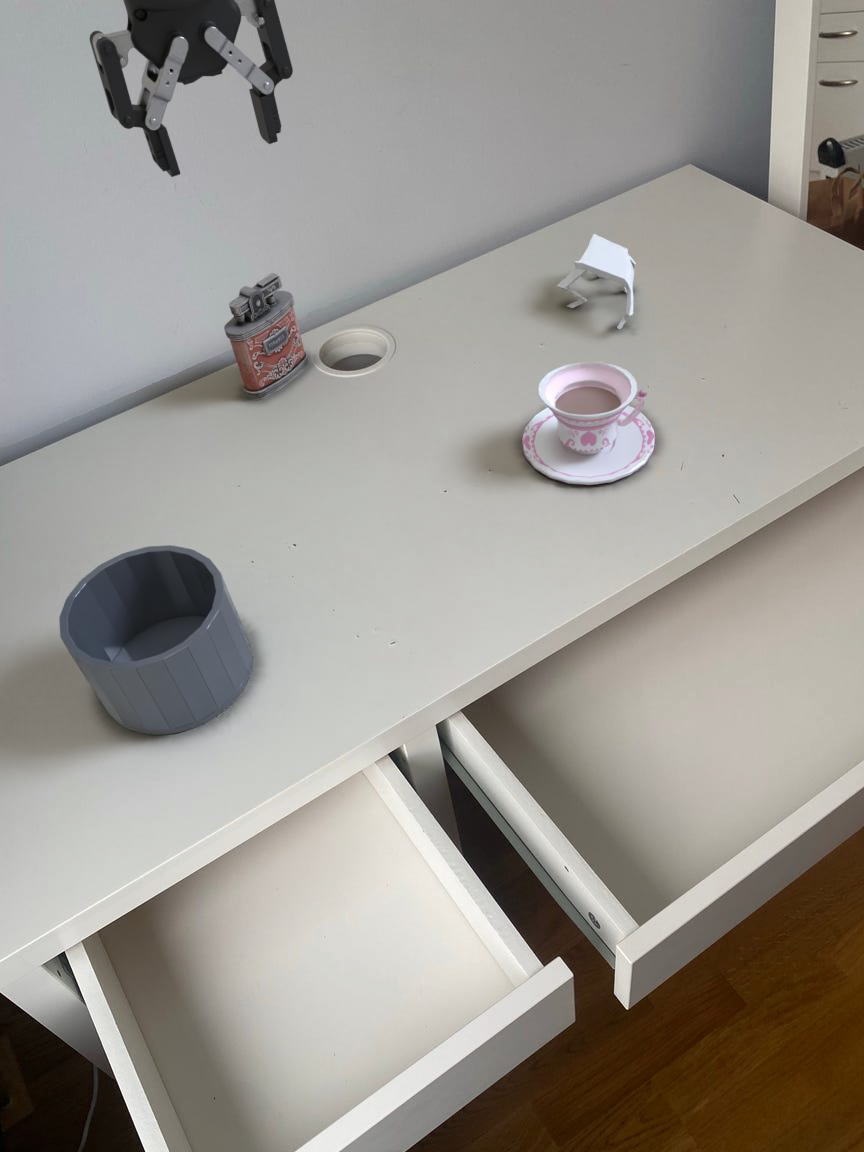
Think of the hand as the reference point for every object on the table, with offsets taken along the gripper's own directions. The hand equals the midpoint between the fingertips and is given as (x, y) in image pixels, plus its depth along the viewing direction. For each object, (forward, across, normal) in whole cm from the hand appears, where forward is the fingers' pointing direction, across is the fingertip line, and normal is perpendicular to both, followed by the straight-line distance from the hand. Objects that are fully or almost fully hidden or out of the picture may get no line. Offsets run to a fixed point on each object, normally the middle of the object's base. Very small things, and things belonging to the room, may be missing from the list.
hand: (221, 156), depth 79 cm
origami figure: (+23, -34, +7) cm, 42 cm away
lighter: (+23, 0, -3) cm, 23 cm away
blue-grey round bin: (+23, +22, +28) cm, 42 cm away
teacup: (+23, -19, +24) cm, 39 cm away
